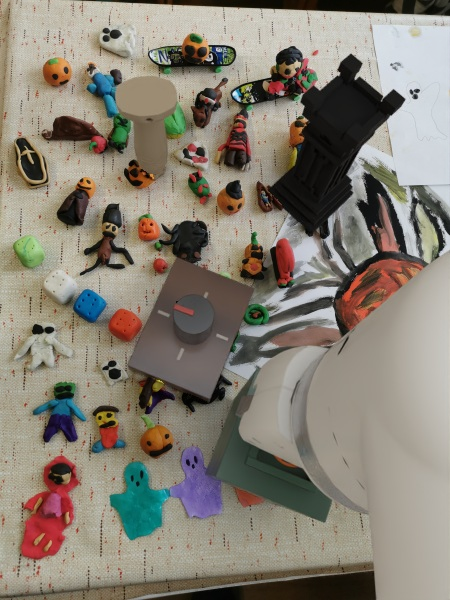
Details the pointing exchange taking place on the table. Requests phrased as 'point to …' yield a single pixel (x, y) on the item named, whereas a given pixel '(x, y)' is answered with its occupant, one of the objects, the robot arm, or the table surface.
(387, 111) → the chess piece
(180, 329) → the knob
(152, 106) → the handle
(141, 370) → the panel
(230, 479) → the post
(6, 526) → the table surface
